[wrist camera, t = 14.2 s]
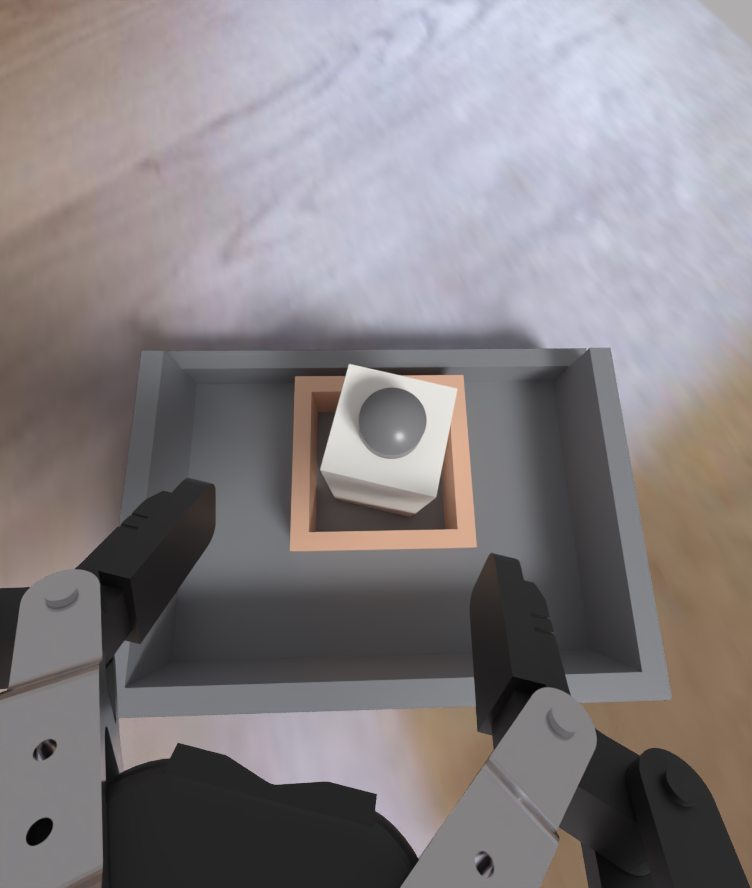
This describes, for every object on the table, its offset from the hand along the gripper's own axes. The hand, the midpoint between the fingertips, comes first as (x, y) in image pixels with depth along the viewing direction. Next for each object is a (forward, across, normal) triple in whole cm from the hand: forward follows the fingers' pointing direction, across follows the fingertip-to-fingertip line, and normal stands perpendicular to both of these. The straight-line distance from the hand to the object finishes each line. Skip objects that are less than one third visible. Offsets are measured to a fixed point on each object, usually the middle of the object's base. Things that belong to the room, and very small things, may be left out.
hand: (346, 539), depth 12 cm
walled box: (+9, -1, +6) cm, 11 cm away
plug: (+10, -1, +4) cm, 10 cm away
